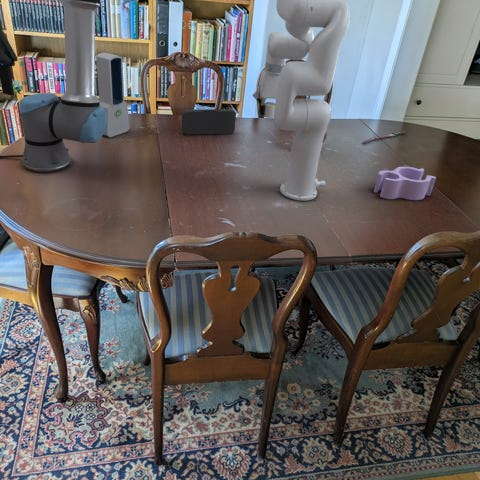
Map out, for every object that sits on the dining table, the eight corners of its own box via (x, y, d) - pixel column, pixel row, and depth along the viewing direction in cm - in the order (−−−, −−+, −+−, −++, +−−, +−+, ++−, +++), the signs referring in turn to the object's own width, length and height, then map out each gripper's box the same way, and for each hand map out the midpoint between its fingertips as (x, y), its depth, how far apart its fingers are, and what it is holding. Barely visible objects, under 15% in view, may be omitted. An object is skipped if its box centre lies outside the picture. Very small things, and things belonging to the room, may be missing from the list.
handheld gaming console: (232, 131, 203) (234, 108, 197) (234, 133, 201) (236, 110, 195) (181, 132, 196) (181, 109, 190) (182, 135, 194) (183, 111, 188)
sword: (401, 132, 223) (402, 129, 222) (407, 134, 221) (407, 131, 220) (358, 143, 207) (358, 140, 206) (363, 145, 205) (364, 143, 204)
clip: (387, 202, 158) (392, 184, 155) (367, 186, 168) (372, 168, 164) (434, 198, 165) (441, 180, 161) (413, 182, 174) (419, 165, 171)
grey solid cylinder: (276, 118, 187) (277, 106, 184) (264, 118, 185) (265, 105, 183) (272, 114, 191) (274, 102, 188) (260, 113, 190) (262, 101, 187)
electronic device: (108, 138, 183) (103, 58, 167) (94, 133, 186) (88, 54, 170) (130, 130, 192) (127, 54, 176) (117, 126, 195) (113, 50, 179)
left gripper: (-78, 3, 83) (-49, 119, 94) (24, -5, 103) (38, 91, 114) (-109, -3, 85) (-77, 112, 96) (-3, -10, 105) (13, 86, 116)
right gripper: (292, 66, 183) (286, 112, 193) (250, 64, 179) (246, 111, 189) (298, 71, 177) (291, 118, 187) (255, 69, 173) (250, 117, 183)
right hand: (268, 114), depth 188 cm, fingers closed on grey solid cylinder, 5 cm apart
